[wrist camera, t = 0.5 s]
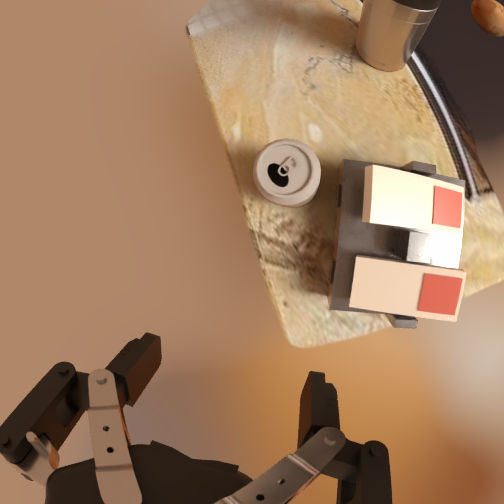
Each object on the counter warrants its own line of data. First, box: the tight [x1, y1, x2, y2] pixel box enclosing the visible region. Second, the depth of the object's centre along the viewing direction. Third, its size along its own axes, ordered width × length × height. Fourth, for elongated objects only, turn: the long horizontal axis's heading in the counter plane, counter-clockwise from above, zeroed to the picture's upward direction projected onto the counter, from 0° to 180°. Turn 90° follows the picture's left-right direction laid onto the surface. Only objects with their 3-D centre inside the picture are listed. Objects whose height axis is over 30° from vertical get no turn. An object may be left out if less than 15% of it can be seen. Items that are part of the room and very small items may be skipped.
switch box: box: [327, 159, 465, 328], centre depth 31 cm, size 18×19×11 cm
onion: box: [471, 0, 504, 36], centre depth 19 cm, size 10×10×10 cm
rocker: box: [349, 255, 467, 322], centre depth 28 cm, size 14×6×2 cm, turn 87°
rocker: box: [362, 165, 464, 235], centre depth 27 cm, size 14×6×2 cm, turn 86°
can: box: [253, 139, 321, 208], centre depth 33 cm, size 8×8×12 cm
